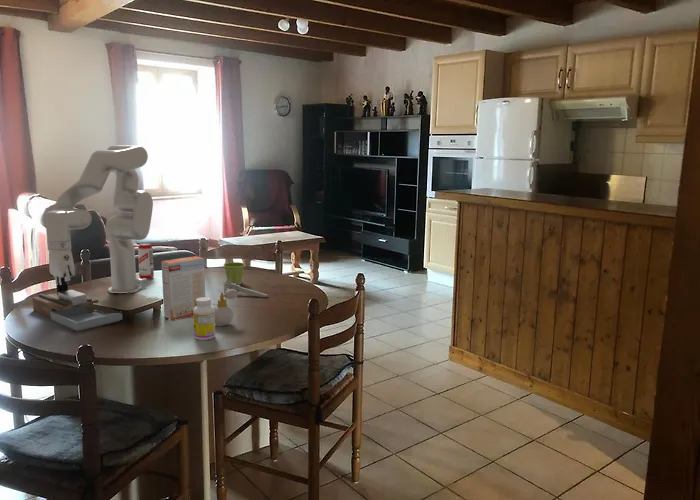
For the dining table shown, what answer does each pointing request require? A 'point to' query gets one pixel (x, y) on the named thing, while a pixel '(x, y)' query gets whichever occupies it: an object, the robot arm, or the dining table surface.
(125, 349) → the dining table surface
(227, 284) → the caliper
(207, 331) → the supplement bottle
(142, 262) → the beer can
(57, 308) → the slot board
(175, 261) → the cracker box
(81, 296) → the chip
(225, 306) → the perfume bottle
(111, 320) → the tray
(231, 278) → the plant pot
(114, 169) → the robot arm
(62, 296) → the chip
